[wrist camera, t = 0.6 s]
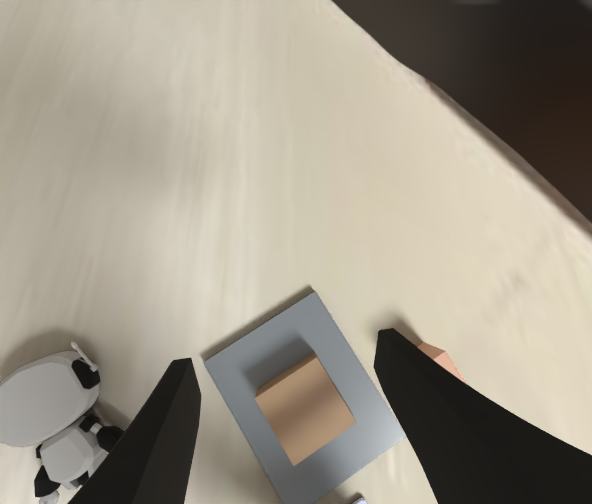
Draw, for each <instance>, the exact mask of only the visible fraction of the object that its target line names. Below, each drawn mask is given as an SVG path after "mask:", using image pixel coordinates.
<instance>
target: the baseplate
mask: <svg viewBox="0 0 592 504" xmlns="http://www.w3.org/2000/svg"><path fill="white" fill-rule="evenodd" d="M314 351H315V353H316V354H317V356H318V358H319V359H320V361H321V363H322V364H323V366H324V368H325V369H326V371H327V372H328V374H329V376H330V377H331V379H332V381H333V382H334V384H335V386H336V387H337V389H338V390H339V392H340V394H341V395H342V397H343V399H344V400H345V402H346V403H347V405H348V407H349V408H350V410H351V412H352V414H353V416H354V418H355V420H356V422H357V423H355V424H354V425H352V426H351V427H350V428H348V429H347V430H345V431H344V432H342V433H341V434H340V435H338V436H337V437H335V438H334V439H332V440H331V441H329V442H328V443H327V444H325V445H324V446H322V447H321V448H319V449H318V450H317V451H315V452H314V453H312V454H311V455H309V456H308V457H307V458H305V459H304V460H302V461H301V462H299V463H298V464H296V465H295V466H293V464H292V463H291V461H290V459H289V457H288V456H287V454H286V452H285V450H284V449H283V447H282V445H281V443H280V442H279V440H278V438H277V437H276V435H275V433H274V431H273V430H272V428H271V426H270V424H269V423H268V421H267V419H266V417H265V416H264V414H263V412H262V411H261V409H260V407H259V405H258V404H257V402H256V400H255V396H256V392H257V389H258V388H259V387H261V386H262V385H264V384H265V383H267V382H268V381H270V380H271V379H273V378H274V377H276V376H277V375H279V374H280V373H282V372H283V371H285V370H286V369H288V368H289V367H291V366H292V365H294V364H295V363H297V362H298V361H300V360H301V359H303V358H305V357H306V356H308V355H309V354H311V353H312V352H314ZM203 363H204V365H205V367H206V368H207V370H208V372H209V374H210V376H211V377H212V379H213V381H214V383H215V384H216V386H217V388H218V390H219V391H220V393H221V395H222V397H223V399H224V400H225V402H226V404H227V406H228V407H229V409H230V411H231V413H232V414H233V416H234V418H235V420H236V422H237V423H238V425H239V427H240V429H241V430H242V432H243V434H244V436H245V437H246V439H247V441H248V443H249V445H250V446H251V448H252V450H253V452H254V453H255V455H256V457H257V459H258V460H259V462H260V464H261V466H262V468H263V469H264V471H265V473H266V475H267V476H268V478H269V480H270V482H271V483H272V485H273V487H274V489H275V491H276V492H277V494H278V496H279V498H280V499H281V501H282V503H283V504H313V503H314V502H316V501H317V500H318V499H320V498H321V497H323V496H324V495H325V494H327V493H328V492H330V491H331V490H332V489H334V488H335V487H337V486H338V485H339V484H341V483H342V482H344V481H345V480H346V479H348V478H349V477H351V476H352V475H353V474H355V473H356V472H358V471H359V470H360V469H362V468H363V467H364V466H366V465H367V464H369V463H370V462H371V461H373V460H374V459H376V458H377V457H378V456H380V455H381V454H383V453H384V452H385V451H387V450H388V449H390V448H391V447H392V446H394V445H395V444H397V443H398V442H399V441H401V440H402V439H404V438H405V437H406V434H405V433H404V431H403V430H402V428H401V426H400V425H399V423H398V422H397V420H396V419H395V417H394V415H393V414H392V412H391V411H390V409H389V407H388V406H387V404H386V403H385V401H384V399H383V398H382V396H381V395H380V393H379V391H378V390H377V388H376V387H375V385H374V383H373V382H372V380H371V379H370V377H369V375H368V374H367V372H366V371H365V369H364V368H363V366H362V364H361V363H360V361H359V360H358V358H357V356H356V355H355V353H354V352H353V350H352V348H351V347H350V345H349V344H348V342H347V340H346V339H345V337H344V336H343V334H342V332H341V331H340V329H339V328H338V326H337V325H336V323H335V321H334V320H333V318H332V317H331V315H330V313H329V312H328V310H327V309H326V307H325V305H324V304H323V302H322V301H321V299H320V297H319V296H318V294H317V293H316V291H314V292H312V293H311V294H309V295H308V296H306V297H305V298H303V299H301V300H300V301H298V302H297V303H295V304H294V305H292V306H290V307H289V308H287V309H286V310H284V311H283V312H281V313H279V314H278V315H276V316H275V317H273V318H272V319H270V320H268V321H267V322H265V323H264V324H262V325H261V326H259V327H257V328H256V329H254V330H253V331H251V332H250V333H248V334H247V335H245V336H243V337H242V338H240V339H239V340H237V341H236V342H234V343H232V344H231V345H229V346H228V347H226V348H225V349H223V350H221V351H220V352H218V353H217V354H215V355H214V356H212V357H210V358H209V359H207V360H206V361H205V362H203Z"/></svg>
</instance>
